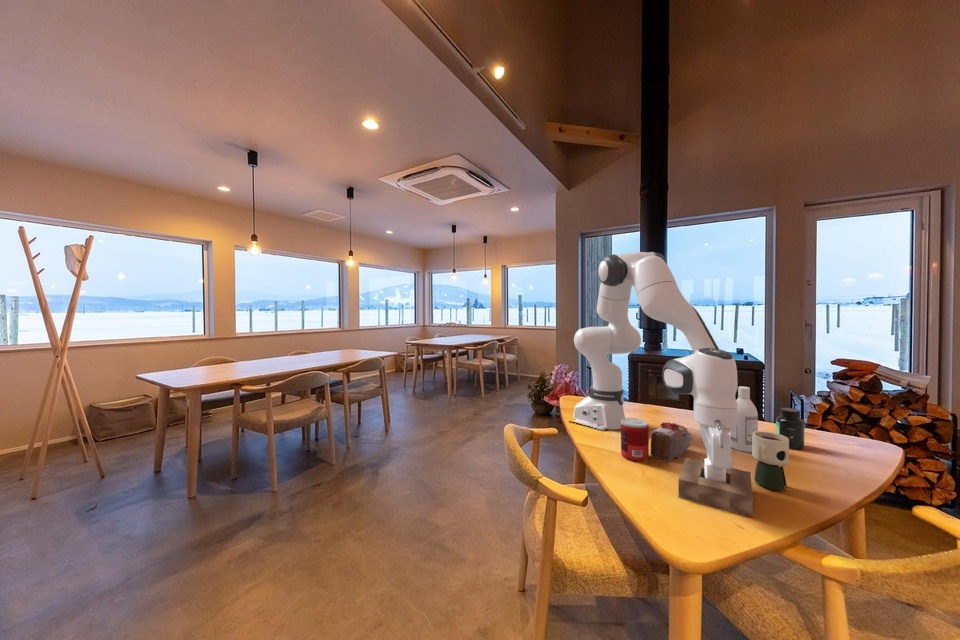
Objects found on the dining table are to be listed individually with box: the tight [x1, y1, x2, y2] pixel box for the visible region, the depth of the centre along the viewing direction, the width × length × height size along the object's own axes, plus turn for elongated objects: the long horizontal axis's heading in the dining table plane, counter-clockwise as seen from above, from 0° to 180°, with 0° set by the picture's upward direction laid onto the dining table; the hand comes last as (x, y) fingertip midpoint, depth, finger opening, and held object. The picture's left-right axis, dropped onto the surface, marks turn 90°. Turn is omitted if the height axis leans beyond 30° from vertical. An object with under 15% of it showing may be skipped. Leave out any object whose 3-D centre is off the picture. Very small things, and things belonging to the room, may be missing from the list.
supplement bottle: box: [775, 407, 805, 451], centre depth 110 cm, size 7×7×12 cm
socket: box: [678, 457, 754, 519], centre depth 83 cm, size 14×14×4 cm
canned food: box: [620, 417, 650, 463], centre depth 105 cm, size 8×8×11 cm
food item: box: [650, 421, 692, 463], centre depth 106 cm, size 14×8×10 cm, turn 130°
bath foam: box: [729, 385, 759, 454], centre depth 109 cm, size 7×7×20 cm
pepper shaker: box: [703, 452, 726, 483], centre depth 83 cm, size 4×4×10 cm
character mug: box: [751, 430, 790, 491], centre depth 86 cm, size 11×7×13 cm, turn 119°
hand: (714, 470), depth 83 cm, fingers closed on pepper shaker, 4 cm apart
